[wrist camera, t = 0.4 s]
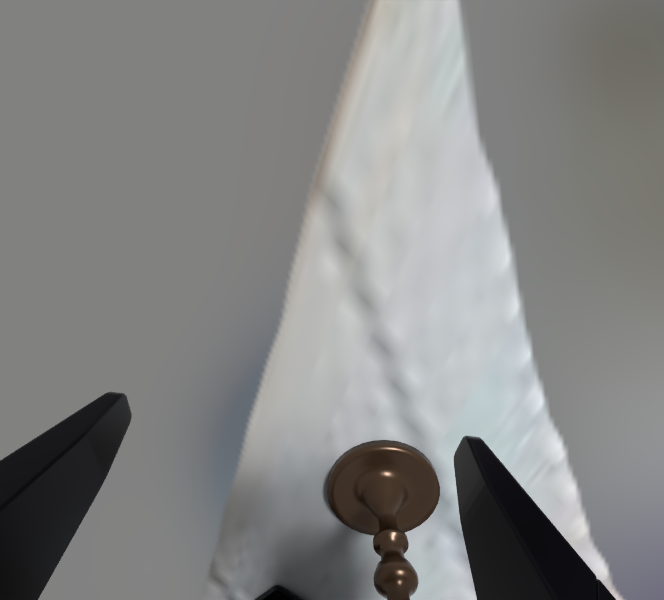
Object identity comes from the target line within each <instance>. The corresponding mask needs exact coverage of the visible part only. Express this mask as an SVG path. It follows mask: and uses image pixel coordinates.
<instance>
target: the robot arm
mask: <svg viewBox="0 0 664 600" xmlns="http://www.w3.org/2000/svg"><path fill="white" fill-rule="evenodd" d="M130 421H131V410H130V407H129V404H128V400H127V396H126V395H125V394H123V393H116V392H108V393H106V394H104V395H102V396H101V397H99V398H97V399H96V400H94V401H93V402H91V403H90V404H88V405H87V406H85V407H83V408H82V409H80V410H79V411H77V412H76V413H74V414H72V415H71V416H69V417H68V418H66V419H65V420H63V421H61V422H60V423H58V424H57V425H55V426H54V427H52V428H51V429H49V430H47V431H46V432H44V433H43V434H41V435H40V436H38V437H37V438H35V439H33V440H32V441H30V442H29V443H27V444H25V445H24V446H22V447H21V448H19V449H18V450H16V451H15V452H13V453H11V454H10V455H8V456H7V457H5V458H4V459H2V460H1V461H0V600H38V598H39V597H40V595H41V593H42V591H43V590H44V588H45V586H46V584H47V582H48V581H49V579H50V577H51V575H52V573H53V572H54V570H55V568H56V566H57V565H58V563H59V561H60V559H61V557H62V556H63V553H64V552H65V550H66V548H67V547H68V545H69V543H70V541H71V540H72V538H73V536H74V534H75V533H76V531H77V529H78V527H79V525H80V524H81V522H82V520H83V518H84V517H85V515H86V513H87V511H88V509H89V507H90V506H91V504H92V502H93V501H94V499H95V497H96V495H97V493H98V492H99V490H100V488H101V486H102V484H103V482H104V480H105V478H106V476H107V474H108V472H109V470H110V468H111V465H112V463H113V461H114V458H115V456H116V454H117V452H118V449H119V447H120V445H121V442H122V440H123V437H124V435H125V433H126V431H127V429H128V426H129V424H130ZM454 468H455V477H456V486H457V495H458V504H459V513H460V520H461V526H462V531H463V536H464V540H465V545H466V550H467V554H468V559H469V564H470V568H471V573H472V577H473V582H474V587H475V591H476V596H477V600H616V599H615V598H614V597H613V595H612V594H611V593H610V592H609V591H608V589H607V588H606V587H605V586H604V585H603V583H602V582H601V581H600V580H598V579H596V575H595V574H594V573H593V572H592V570H591V569H590V568H589V567H588V566H587V565H586V563H585V562H584V561H583V560H582V559H581V557H580V556H579V555H578V554H577V553H576V551H575V550H574V549H573V548H572V547H571V545H570V544H569V543H568V542H567V541H566V539H565V538H564V537H563V536H562V535H561V533H560V532H559V531H558V530H557V529H556V527H555V526H554V525H553V524H552V523H551V521H550V520H549V519H548V518H547V517H546V515H545V514H544V513H543V512H542V511H541V509H540V508H539V507H538V506H537V505H536V503H535V502H534V501H533V500H532V499H531V497H530V496H529V495H528V494H527V493H526V491H525V490H524V489H523V488H522V487H521V485H520V484H519V483H518V482H517V481H516V479H515V478H514V477H513V476H512V475H511V473H510V472H509V471H508V470H507V469H506V468H505V466H504V465H503V464H502V463H501V462H500V460H499V459H498V458H497V457H496V456H495V454H494V453H493V452H492V451H491V450H490V448H489V447H488V446H487V445H486V444H485V442H484V441H483V440H482V439H481V438H479V437H473V436H465V437H463V439H462V440H461V442H460V444H459V446H458V448H457V450H456V452H455V455H454ZM257 600H299V599H298V598H296V597H295V596H294V595H292V594H291V593H289V592H288V591H287V590H285V589H284V588H282V587H280V586H275V587H273V588H272V589H271V590H269V591H268V592H266V593H265V594H264V595H262V596H261V597H259V598H258V599H257Z"/></svg>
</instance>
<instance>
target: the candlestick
mask: <svg viewBox="0 0 664 600" xmlns="http://www.w3.org/2000/svg"><path fill="white" fill-rule="evenodd" d="M439 496H440V486H439V482H438V478H437V475H436V472H435V469H434V467H433V466H432V464H431V462H430V461H429V460H428V458H427V457H426V456H425V455H424V454H423V453H421V452H420V451H419V450H417V449H416V448H414V447H412V446H409V445H407V444H404V443H401V442H397V441H388V440H380V441H371V442H367V443H363V444H360V445H358V446H356V447H353V448H352V449H350V450H349V451H347V452H346V453H344V454H343V455H342V456H341V457H340V458H339V459H338V460H337V461H336V463H335V464H334V466H333V467H332V470H331V472H330V475H329V481H328V499H329V503H330V506H331V508H332V511H333V512H334V513H335V515H336V516H337V518H338V519H339V520H341V521H342V522H343V523H344V524H345V525H347V526H348V527H350V528H351V529H354V530H356V531H358V532H361V533H364V534H369V535H375V536H374V538H373V546H374V550H375V552H376V553H377V554H378V555H380V556H381V561H380V562H379V563H378V566H377V568H376V571H375V574H374V586H375V588H376V590H377V591H378V593H379V594H380V595H381V596H383V597H384V598H387V599H388V600H410V598H409V597H410V596H411V595H413V594H414V593H415V591H416V590H417V587H418V576H417V573H416V571H415V570H414V568H413V567H412V565H411V564H410V562H409V561H408V560H407V559H405V558H404V553H405V552H406V551H407V549H408V539H407V536H406V535H405V533H404V532H407V531H410V530H412V529H414V528H416V527H417V526H419V525H421V524H422V523H423V522H424V521H426V520H427V519H428V518H429V517H430V515H431V514H432V513H433V512H434V510H435V508H436V506H437V504H438V500H439Z"/></svg>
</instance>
